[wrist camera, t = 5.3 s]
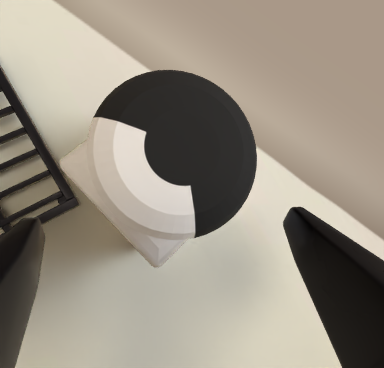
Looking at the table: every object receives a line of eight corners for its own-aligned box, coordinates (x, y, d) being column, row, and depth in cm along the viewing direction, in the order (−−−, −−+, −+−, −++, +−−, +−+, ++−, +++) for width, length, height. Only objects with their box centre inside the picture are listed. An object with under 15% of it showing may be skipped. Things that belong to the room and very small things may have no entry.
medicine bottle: (154, 121, 20) (189, 3, 9) (211, 187, 21) (316, 161, 9) (81, 179, 18) (2, 128, 7) (146, 249, 19) (175, 312, 8)
